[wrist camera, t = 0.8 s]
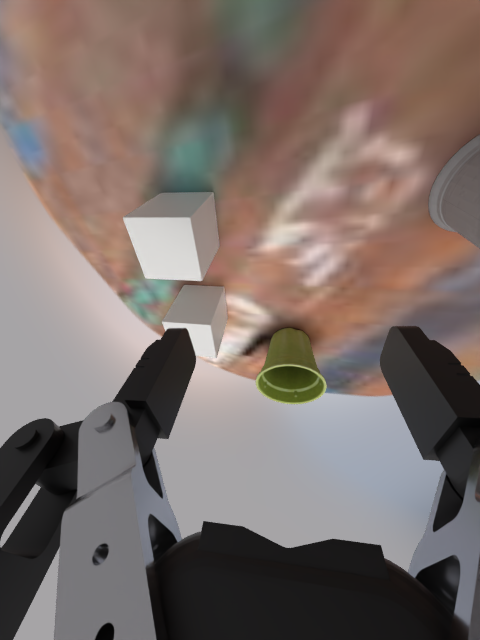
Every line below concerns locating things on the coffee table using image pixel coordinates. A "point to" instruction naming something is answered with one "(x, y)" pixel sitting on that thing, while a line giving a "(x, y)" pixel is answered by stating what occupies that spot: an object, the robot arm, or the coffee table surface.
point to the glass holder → (459, 193)
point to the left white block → (175, 235)
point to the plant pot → (290, 370)
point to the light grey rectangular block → (200, 317)
